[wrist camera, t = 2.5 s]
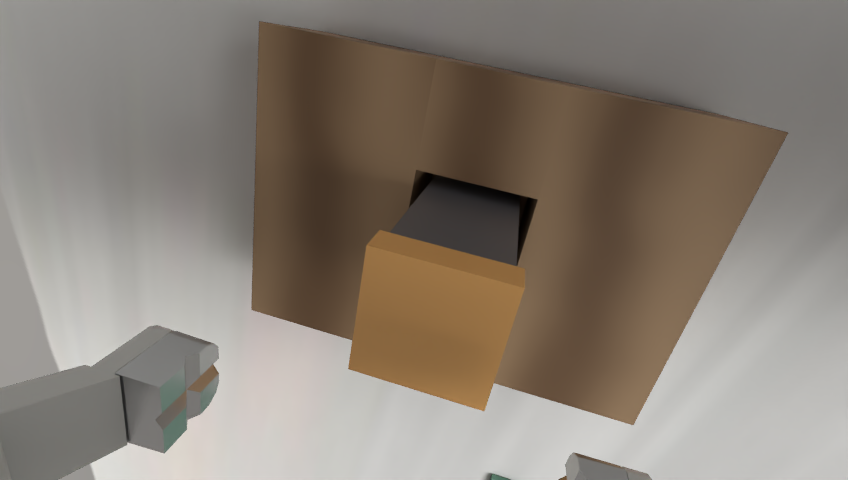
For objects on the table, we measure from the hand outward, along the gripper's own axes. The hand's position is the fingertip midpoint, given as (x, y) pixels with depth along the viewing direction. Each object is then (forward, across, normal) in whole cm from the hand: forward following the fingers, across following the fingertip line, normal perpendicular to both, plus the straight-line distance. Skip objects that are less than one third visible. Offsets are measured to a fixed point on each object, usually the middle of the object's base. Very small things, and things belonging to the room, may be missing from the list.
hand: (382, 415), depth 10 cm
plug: (+15, -1, 0) cm, 16 cm away
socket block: (+16, -1, 0) cm, 17 cm away
